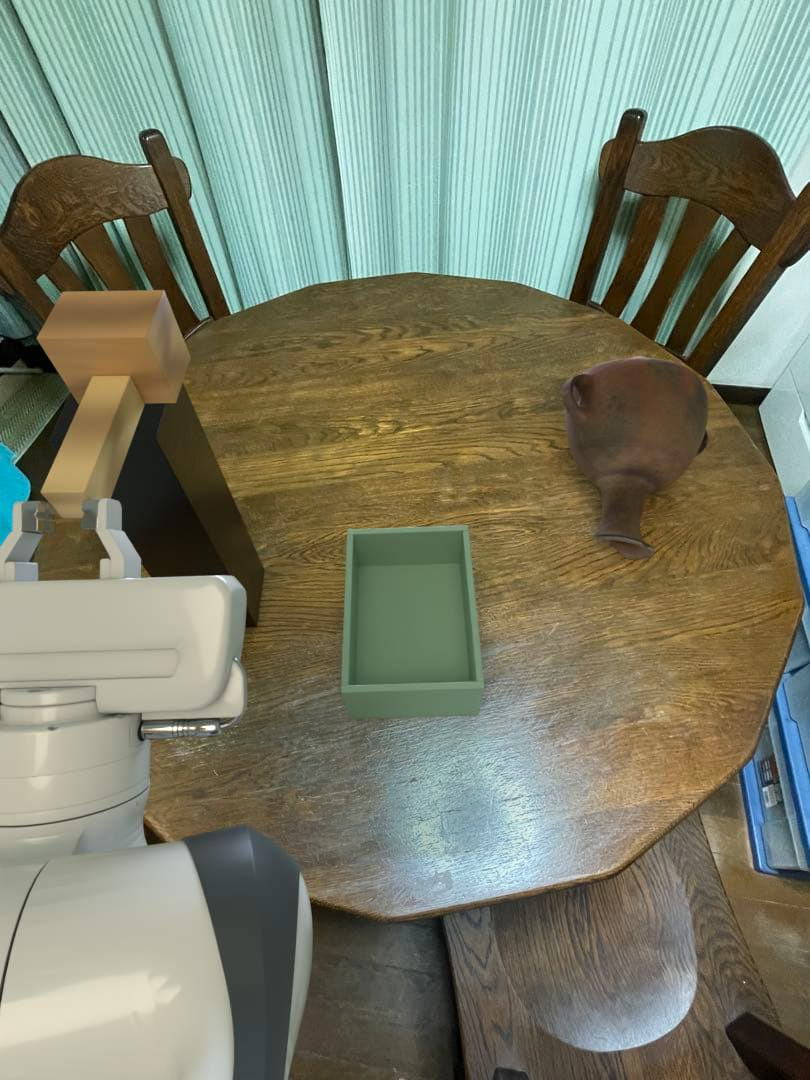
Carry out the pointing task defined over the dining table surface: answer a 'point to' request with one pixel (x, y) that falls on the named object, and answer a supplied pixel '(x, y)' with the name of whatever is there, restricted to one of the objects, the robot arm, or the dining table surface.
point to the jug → (634, 437)
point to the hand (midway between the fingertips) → (68, 500)
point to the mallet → (108, 383)
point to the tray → (410, 624)
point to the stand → (179, 500)
